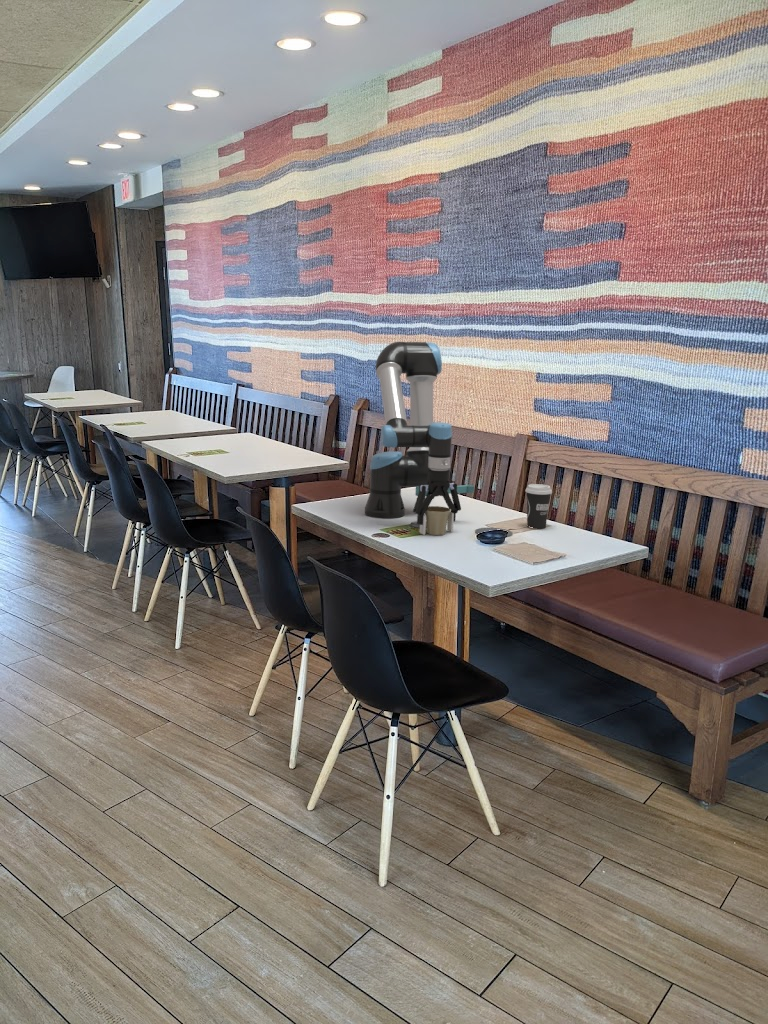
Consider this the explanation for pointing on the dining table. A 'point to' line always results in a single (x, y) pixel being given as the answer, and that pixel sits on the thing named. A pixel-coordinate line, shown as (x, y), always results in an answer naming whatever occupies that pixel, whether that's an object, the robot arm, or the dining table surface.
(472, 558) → the dining table surface
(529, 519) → the coffee cup
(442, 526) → the flower pot
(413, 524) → the grey pedestal stand
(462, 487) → the teal paddle stick
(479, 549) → the dining table surface
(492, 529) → the pad
